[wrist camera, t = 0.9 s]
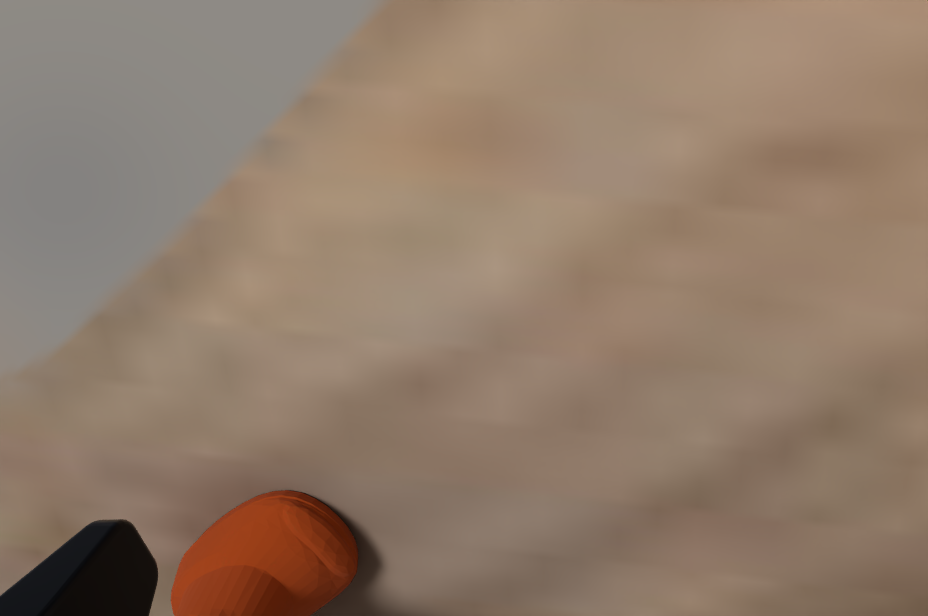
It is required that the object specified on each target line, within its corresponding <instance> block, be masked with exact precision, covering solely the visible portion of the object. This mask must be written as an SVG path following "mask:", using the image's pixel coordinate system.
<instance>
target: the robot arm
mask: <svg viewBox="0 0 928 616" xmlns="http://www.w3.org/2000/svg"><path fill="white" fill-rule="evenodd" d="M157 581H158V568H157V564H156V561H155V559H154V558H153V556H152V554H151V553H150V551H149V549H148V548H147V546H146V544H145V543H144V541H143V540H142V538H141V536H140V535H139V533H138V531H137V530H136V528H135V527H134V525H133V524H132V523H131V522H129V521H127V520H123V519H119V520H98V521H94V522H92V523H90V524H89V525H87V526H86V527H85V528H83V529H82V530H81V531H80V532H78V533H77V534H76V535H75V536H73V537H72V538H71V539H70V540H69V541H67V542H66V543H65V544H64V545H62V546H61V547H60V548H59V549H57V550H56V551H55V552H54V553H52V554H51V555H50V556H49V557H48V558H46V559H45V560H44V561H43V562H41V563H40V564H39V565H38V566H36V567H35V568H34V569H33V570H32V571H30V572H29V573H28V574H27V575H25V576H24V577H23V578H22V579H20V580H19V581H18V582H17V583H15V584H14V585H13V586H12V587H11V588H9V589H8V590H7V591H6V592H4V593H3V594H2V595H1V596H0V616H149V613H150V609H151V605H152V601H153V598H154V594H155V590H156V586H157Z"/></svg>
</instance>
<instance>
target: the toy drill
mask: <svg viewBox="0 0 928 616" xmlns="http://www.w3.org/2000/svg"><path fill="white" fill-rule="evenodd" d="M357 565H358V548H357V545H356V541H355V538H354V537H353V535H352V533H351V532H350V530H349V528H348V527H347V526H346V524H345V523H344V522H343V521H342V520H341V519H340V518H339V516H337V515H336V514H335V513H334V512H333V511H332V510H331V509H330V508H329V507H328V506H326V505H325V504H323V503H321V502H320V501H318V500H317V499H315V498H313V497H311V496H308V495H306V494H304V493H301V492H295V491H288V490H285V491H273V492H269V493H266V494H262V495H259V496H256V497H254V498H252V499H250V500H248V501H246V502H244V503H242V504H241V505H239V506H237V507H236V508H234V509H233V510H231V511H229V512H228V513H227V514H225V515H224V516H223V517H221V518H220V519H219V520H217V521H216V522H215V523H214V524H213V525H212V526H211V527H209V528H208V529H207V530H206V531H205V532H204V533H203V534H202V536H201V537H200V538H199V539H198V540H197V541H196V542H195V543H194V544H193V545H192V546H191V547H190V548H189V550H188V551H187V552H186V553H185V554H184V556H183V558H182V560H181V562H180V564H179V567H178V571H177V574H176V578H175V581H174V584H173V588H172V593H171V604H172V609H173V614H174V615H175V616H310V615H311V614H313V613H314V612H316V611H317V610H318V609H320V608H321V607H322V606H324V605H325V604H327V603H328V602H329V601H331V600H332V599H333V598H335V597H336V596H338V595H339V594H340V593H341V592H342V591H343V590H344V589H345V588H346V587H347V586H348V585H349V584H350V582H351V581H352V579H353V578H354V576H355V574H356V572H357Z"/></svg>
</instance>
